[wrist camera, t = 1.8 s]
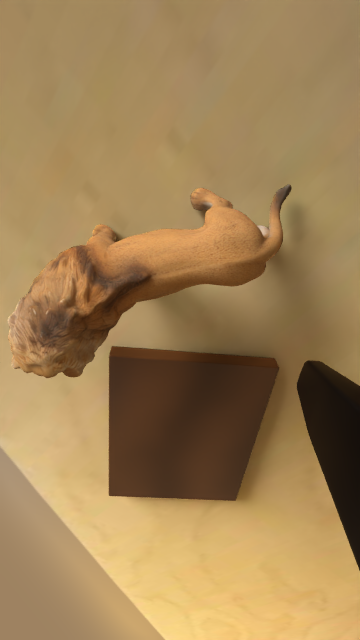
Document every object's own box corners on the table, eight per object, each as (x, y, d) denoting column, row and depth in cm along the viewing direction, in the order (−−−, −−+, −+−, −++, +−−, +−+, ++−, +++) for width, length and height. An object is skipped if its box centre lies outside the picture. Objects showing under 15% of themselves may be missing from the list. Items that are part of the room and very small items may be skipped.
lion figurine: (87, 319, 22) (40, 421, 14) (38, 250, 19) (-52, 326, 11) (298, 226, 19) (389, 287, 11) (272, 131, 16) (365, 124, 9)
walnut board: (274, 358, 24) (279, 368, 23) (233, 489, 31) (235, 501, 30) (111, 345, 23) (108, 355, 22) (110, 484, 31) (108, 496, 29)
